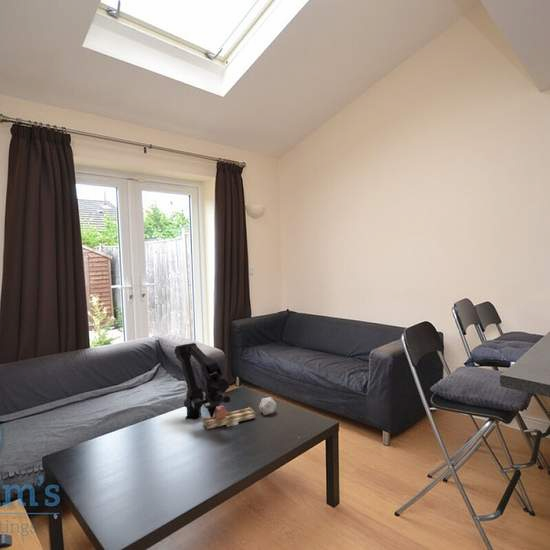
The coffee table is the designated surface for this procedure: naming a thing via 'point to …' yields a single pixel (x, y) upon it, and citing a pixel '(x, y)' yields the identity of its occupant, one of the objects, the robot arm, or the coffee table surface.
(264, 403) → the die
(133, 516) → the coffee table surface
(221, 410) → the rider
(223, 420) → the beam
